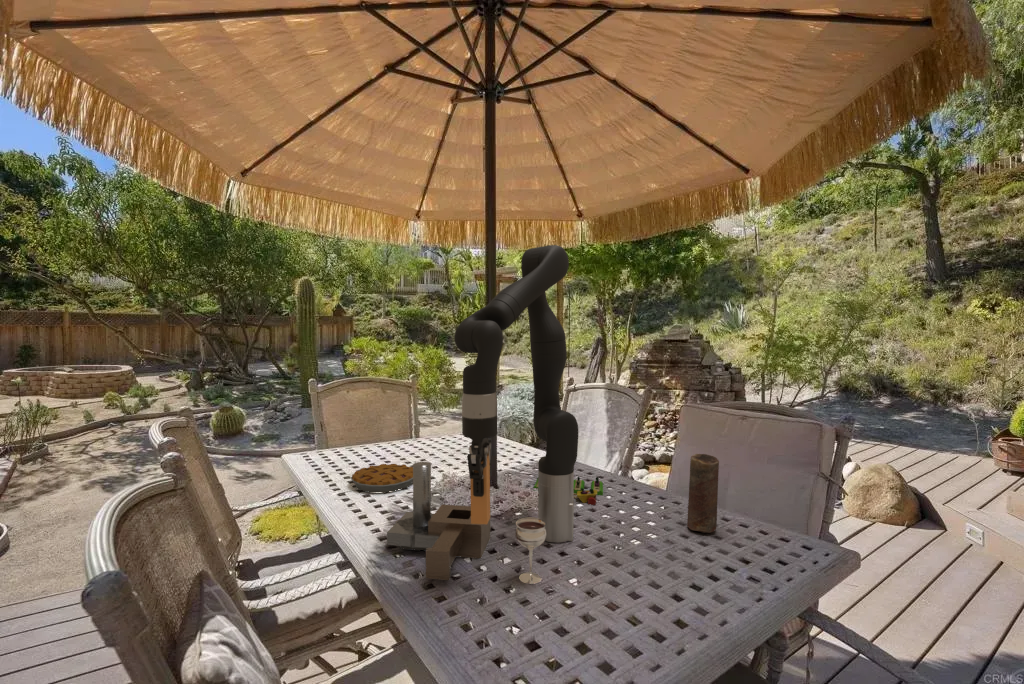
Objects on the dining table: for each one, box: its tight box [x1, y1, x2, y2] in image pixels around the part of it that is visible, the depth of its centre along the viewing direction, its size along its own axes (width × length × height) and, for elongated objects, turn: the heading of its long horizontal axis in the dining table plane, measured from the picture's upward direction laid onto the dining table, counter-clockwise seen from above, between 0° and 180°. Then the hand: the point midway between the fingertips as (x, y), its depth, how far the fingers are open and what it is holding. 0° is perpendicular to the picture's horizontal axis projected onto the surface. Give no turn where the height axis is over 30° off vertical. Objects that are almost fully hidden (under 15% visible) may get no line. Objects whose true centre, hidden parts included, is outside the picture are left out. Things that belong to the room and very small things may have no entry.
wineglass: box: [515, 516, 546, 585], centre depth 104 cm, size 7×7×12 cm
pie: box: [350, 463, 413, 493], centre depth 165 cm, size 22×22×5 cm
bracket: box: [425, 504, 492, 581], centre depth 112 cm, size 13×24×8 cm, turn 171°
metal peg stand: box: [386, 461, 440, 551], centre depth 120 cm, size 14×14×20 cm
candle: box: [686, 453, 720, 534], centre depth 129 cm, size 8×7×20 cm
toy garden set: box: [532, 475, 604, 506], centre depth 158 cm, size 23×19×5 cm
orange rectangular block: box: [469, 455, 491, 524], centre depth 103 cm, size 4×4×14 cm
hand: (480, 492), depth 103 cm, fingers closed on orange rectangular block, 3 cm apart
